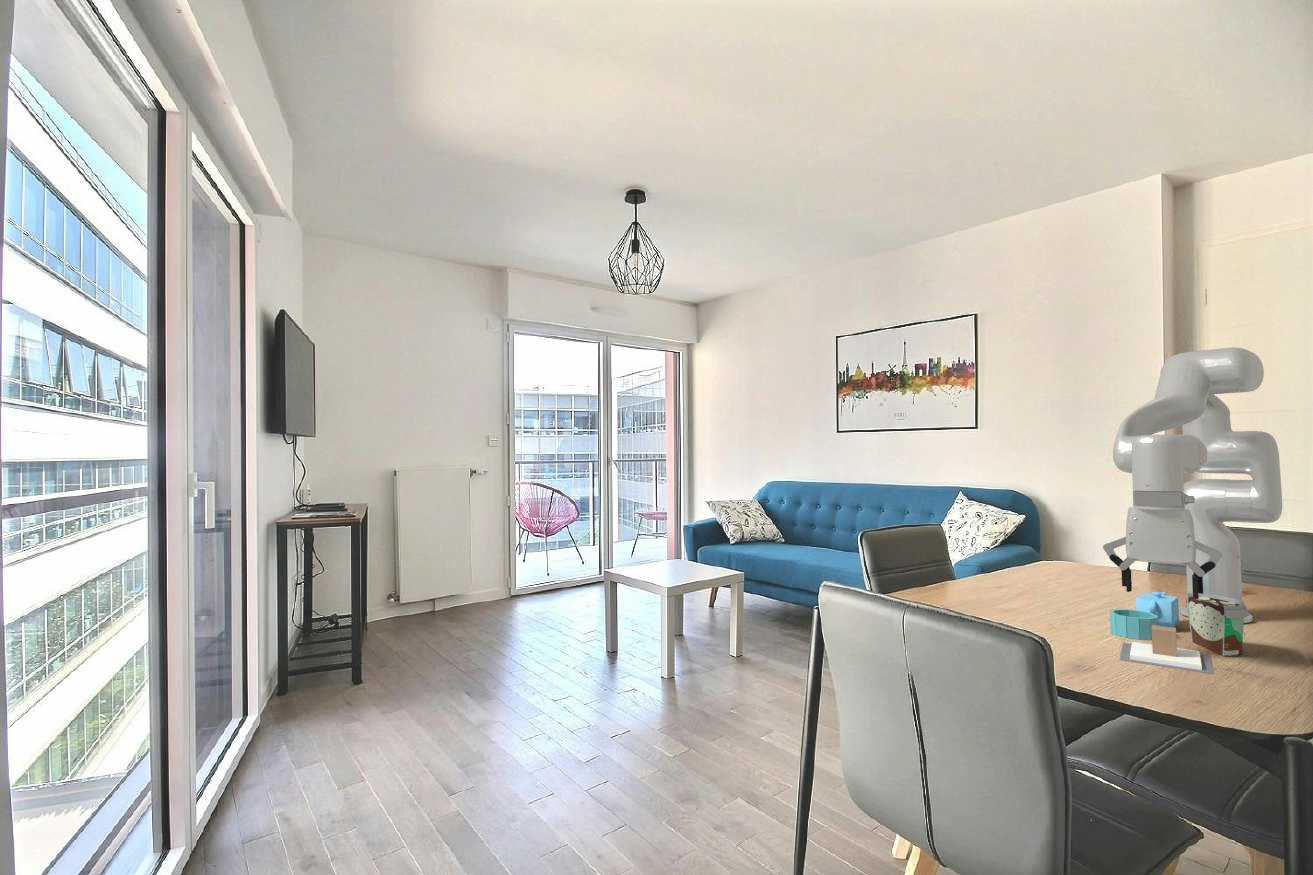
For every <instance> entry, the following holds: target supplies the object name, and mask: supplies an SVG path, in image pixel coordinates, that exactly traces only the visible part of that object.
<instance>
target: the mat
mask: <svg viewBox="0 0 1313 875" xmlns="http://www.w3.org/2000/svg"><path fill="white" fill-rule="evenodd" d="M1131 645H1132V643H1128V642H1123V643H1122V646H1121V651H1120V656H1119V661H1123V662H1130V663H1134V664H1135V663H1137V664H1142V665H1143V664H1144V665H1149V666H1155V667H1162V668H1168V669H1176V670H1182V671H1189V672H1194V673H1195V672H1196V673H1202V674H1209V675H1215V674H1214V673H1215V672H1214V669H1213V663H1212V658H1211V655H1210V654H1208V653H1200V652H1199V653H1200V659H1201V664H1202V670H1198V669H1192V668H1185V667H1178V666H1172V665H1165V664H1158V663H1152V662H1145V661H1138V660H1131V659H1130V651H1131Z"/></svg>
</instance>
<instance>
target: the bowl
mask: <svg viewBox="0 0 1313 875" xmlns="http://www.w3.org/2000/svg"><path fill="white" fill-rule="evenodd" d="M1152 625H1157V626H1158V616H1157V615H1155V614H1153V613H1149V612H1144V611H1138V610H1137V609H1129V608H1126V609H1125V608H1123V609H1122V608H1116V609H1110V611H1109V626H1110V629H1109V630H1110V633H1111V634H1113V635H1115V636H1118V637H1122V638H1127V639H1132V640H1133V639H1134V640H1140V641H1141V640H1144V641H1145V640H1147V641H1152Z"/></svg>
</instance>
